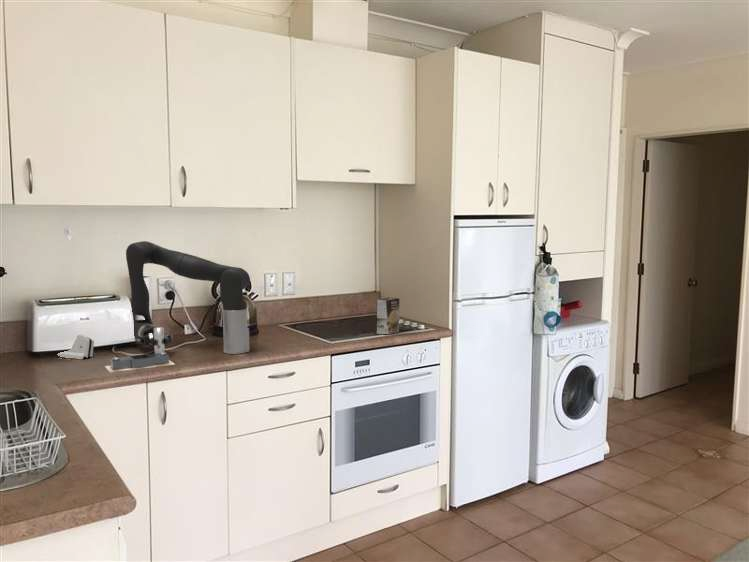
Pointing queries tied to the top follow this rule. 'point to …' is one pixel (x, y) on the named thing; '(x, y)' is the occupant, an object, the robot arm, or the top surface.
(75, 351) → the hinge
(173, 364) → the board
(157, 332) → the link pin
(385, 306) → the coffee box
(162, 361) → the grey notched block
